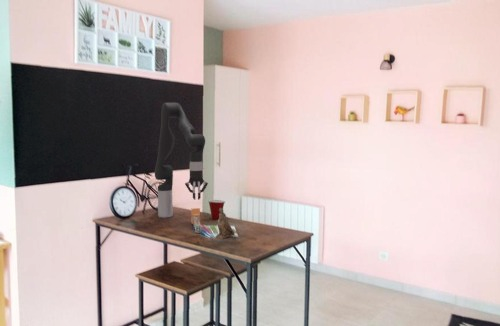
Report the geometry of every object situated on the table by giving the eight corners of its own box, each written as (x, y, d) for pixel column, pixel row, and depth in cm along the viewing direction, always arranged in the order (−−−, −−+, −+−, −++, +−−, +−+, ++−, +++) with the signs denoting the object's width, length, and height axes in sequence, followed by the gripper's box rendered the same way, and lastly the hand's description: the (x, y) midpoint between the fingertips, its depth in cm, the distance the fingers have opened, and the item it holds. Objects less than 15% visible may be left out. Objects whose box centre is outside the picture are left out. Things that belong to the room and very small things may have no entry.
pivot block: (193, 223, 257) (193, 215, 256) (198, 223, 257) (197, 215, 257) (193, 225, 253) (193, 216, 253) (198, 224, 254) (198, 216, 253)
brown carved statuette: (222, 243, 224) (217, 212, 219) (214, 241, 227) (210, 210, 222) (236, 234, 233) (232, 203, 228) (228, 232, 236) (224, 202, 231)
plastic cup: (228, 218, 270) (228, 200, 269) (216, 221, 262) (216, 202, 261) (217, 216, 277) (217, 198, 276) (204, 219, 269) (204, 200, 268)
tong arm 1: (193, 225, 252) (193, 218, 252) (195, 224, 253) (195, 218, 252) (195, 232, 235) (195, 225, 234) (198, 232, 235) (198, 225, 235)
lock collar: (191, 223, 256) (191, 208, 255) (199, 222, 257) (199, 208, 256) (191, 224, 253) (191, 209, 252) (200, 223, 254) (200, 209, 253)
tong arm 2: (196, 224, 253) (196, 218, 252) (198, 224, 253) (198, 218, 253) (198, 232, 235) (198, 225, 235) (200, 232, 235) (200, 225, 235)
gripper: (207, 168, 247) (208, 197, 249) (183, 168, 244) (184, 198, 246) (208, 169, 240) (209, 200, 241) (184, 170, 237) (184, 201, 239)
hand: (196, 199), depth 244 cm, fingers closed
